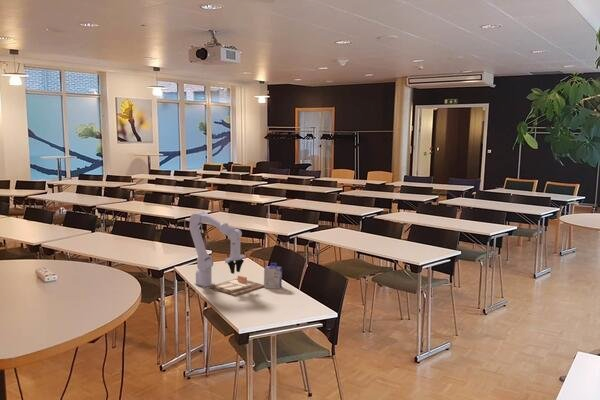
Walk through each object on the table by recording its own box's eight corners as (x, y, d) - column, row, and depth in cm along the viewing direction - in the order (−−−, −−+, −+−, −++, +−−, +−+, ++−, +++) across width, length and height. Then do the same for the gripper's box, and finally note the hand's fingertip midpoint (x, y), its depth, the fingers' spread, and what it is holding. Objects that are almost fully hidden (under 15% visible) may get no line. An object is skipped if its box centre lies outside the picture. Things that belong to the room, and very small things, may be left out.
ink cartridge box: (282, 286, 298) (282, 262, 297) (279, 289, 293) (280, 265, 291) (266, 285, 300) (266, 261, 298) (263, 287, 295) (263, 264, 293)
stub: (228, 283, 298) (228, 276, 298) (235, 281, 303) (235, 274, 302) (244, 288, 289) (244, 280, 289) (251, 286, 294) (251, 278, 293)
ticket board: (209, 288, 292) (209, 284, 292) (238, 279, 311) (238, 275, 310) (235, 296, 278) (235, 292, 278) (264, 286, 297) (264, 282, 297)
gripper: (231, 253, 282) (230, 276, 284) (249, 249, 293) (248, 271, 295) (222, 251, 287) (222, 274, 288) (240, 247, 298) (240, 269, 300)
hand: (235, 272), depth 292 cm, fingers open, 4 cm apart
